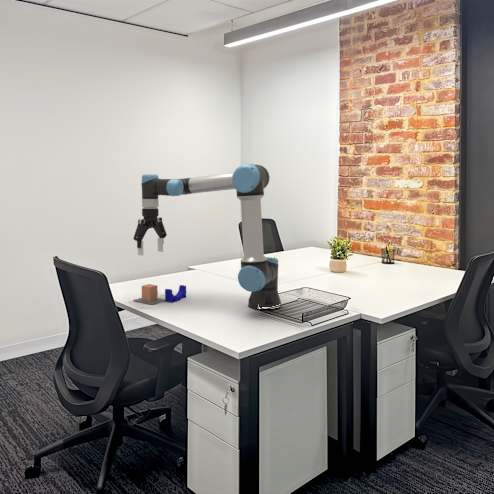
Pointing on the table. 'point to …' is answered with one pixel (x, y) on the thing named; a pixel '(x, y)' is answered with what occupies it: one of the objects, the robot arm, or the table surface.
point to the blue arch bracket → (180, 295)
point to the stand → (149, 302)
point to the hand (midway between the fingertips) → (150, 253)
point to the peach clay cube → (149, 292)
